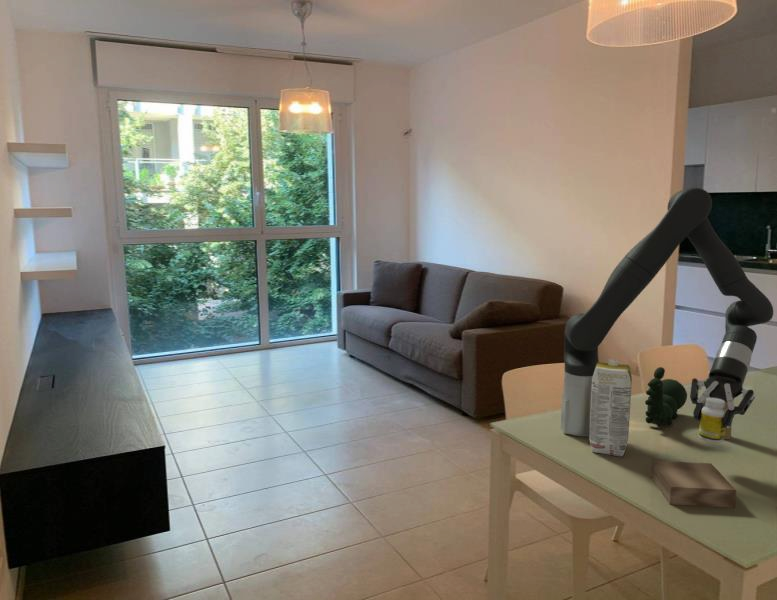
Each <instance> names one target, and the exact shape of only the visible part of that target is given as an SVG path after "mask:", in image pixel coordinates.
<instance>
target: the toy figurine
mask: <svg viewBox="0 0 777 600" xmlns="http://www.w3.org/2000/svg"><path fill="white" fill-rule="evenodd" d="M665 369H666V368H664V367H662V366H660V367H657V368H656V369H655V370H654V372H653V377H654V378H652V379H651V380H650V381H649V382H648V383H647V386H648V390H646V391H645V394H646V395H647V396H648V398H647V399H646V400H645V401H644V404H645V405H646V406H647V408H646V411H645V412H644V413H645V416H646V417H645V422H646V423H647V424H653V422H654V423H659V425H660V426H661V427H666V426H668V425H670V426H672V425H673V424H674V422H673V421H676V420H677V419H678V417H679V414H678V410H680V409H682V408H683V407H684V405H685V403H687V402H686V401H687V399H688V393H687V390H686V388H685V387H684V385H683V384H682V383H681V382H679V381H678V380H675V379H673V378H672V379H671V378H666V379H663V378H664V376H665V373H666V370H665Z"/></svg>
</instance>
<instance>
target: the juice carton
mask: <svg viewBox="0 0 777 600" xmlns="http://www.w3.org/2000/svg"><path fill="white" fill-rule="evenodd" d="M631 370H632V369H631V366H630V364H626V363H625V364H619V360H618V359H614V358H613V359H610V358H609V359H607V362H602V361H599V362H598V363H597V364H596V367H595V370H594V373H593V379H592V393H591V414H590V436H589V443H590V449H591V452H592V453H596V454H603V455H609V456H614V457H623V456H624V454H625V451H626V449H627V445H628V442H629V431H630V430H629V429H630V417H631V416H630V415H631V403H632V402H631V399H632V386H633V385H632V381H633V379H632V378H633V377H632V371H631Z"/></svg>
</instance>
